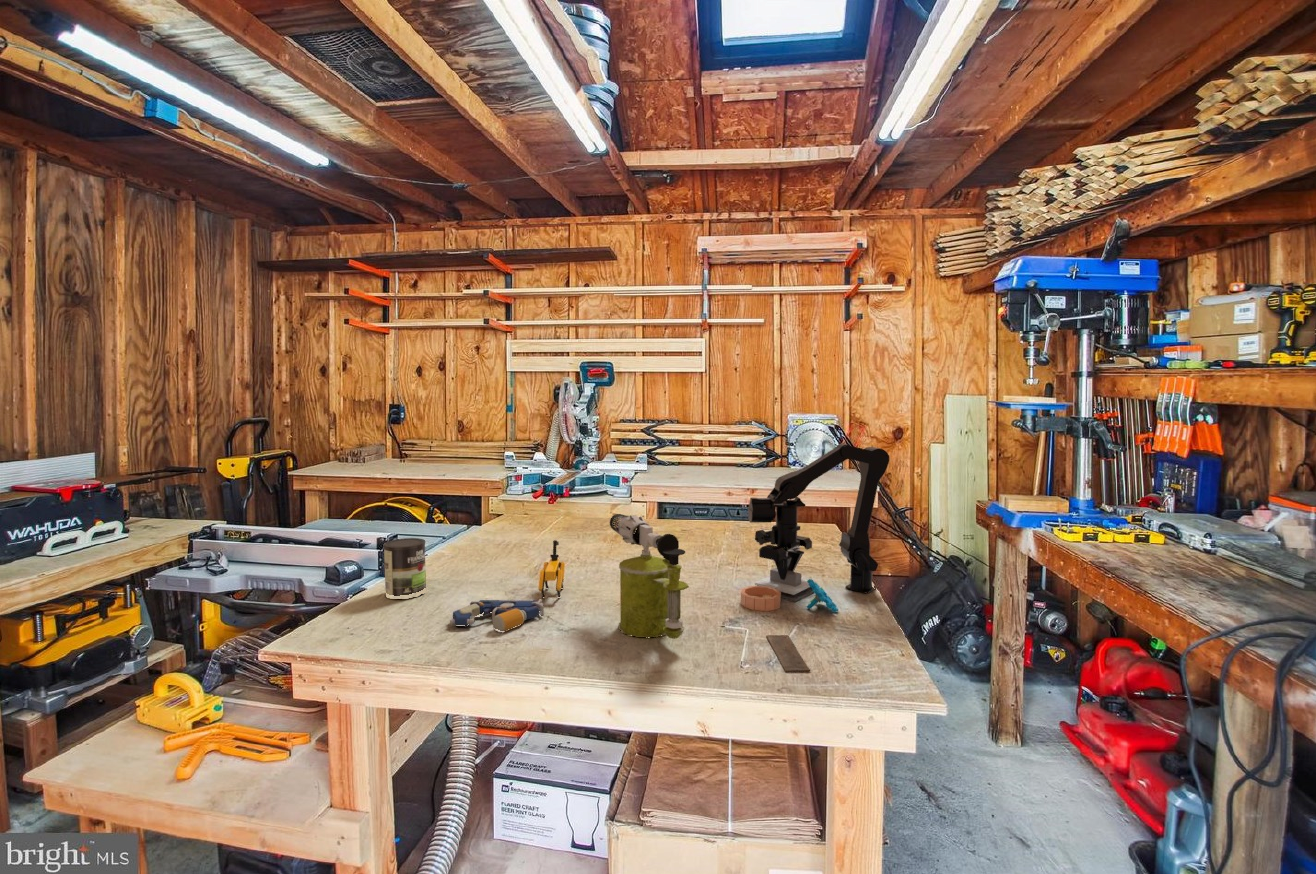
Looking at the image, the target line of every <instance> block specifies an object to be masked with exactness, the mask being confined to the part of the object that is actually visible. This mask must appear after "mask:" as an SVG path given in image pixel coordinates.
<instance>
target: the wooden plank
mask: <svg viewBox="0 0 1316 874" xmlns="http://www.w3.org/2000/svg"><path fill="white" fill-rule="evenodd" d="M766 639H767V641H768V643H769V645H770V646H771V648H772V651H773V653H774V654H775V656H776V657H777V659H778V661H779V663H780V664H781V667H782V668H783V670H784V672H785V673H810V672H811V669H810V668H809V666H808V664H807V663H806V661H805V660H804V658H803V657H802V655H801V654H800V652H799V651H798V649H797V646H796V645H795V643H794V642H793V640H792V639H791V637H790V635H788V634H781V635H780V634H778V635H777V634H774V635H773V634H768V635H767V634H766Z"/></svg>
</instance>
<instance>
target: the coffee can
mask: <svg viewBox="0 0 1316 874" xmlns="http://www.w3.org/2000/svg"><path fill="white" fill-rule="evenodd" d="M383 550H384V551H383V555H384V556H383V557H384V583H385V584H384V586H385V590H384V591H386V593H387V594H389V595H394V596H400V595H409V594H412V593H416V592H419V591H421V590H423V589H424V588H426V589H427V580H426V579H427V576H426V573H427V572H426V571H427V570H426V540H425V539H423V538H418V537H417V538H416V537H407V538H404V537H403V538H399V539H393V540H392V539H391V540H387V542H385V543H383Z"/></svg>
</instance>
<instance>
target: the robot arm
mask: <svg viewBox="0 0 1316 874" xmlns="http://www.w3.org/2000/svg"><path fill="white" fill-rule="evenodd" d="M847 460H851V461H855V462H858V470H859V472H860V474H859V475H860V482H859V486H858V492H857V497H856V501H855V505H854V509H853V510H854V511H853V515H852V520H851V525H850V528H849V529H848V531H847V532H844V531H842V532H841V537H840V542H839V543H838V546H839V547H840V553H842V556H844V557H845V558H846V560H847V563H848V564H850V575H849V576H850V579H849V580H850V582H849V584H847V585H845V589H847V590H851V591H856V592H859V593H865V594H870V593H871V592H873V591H874V590H876V589H877V587H878V586H877V585H873V572H876V571H877V570H878V567H879V563H878V561H876V560H875V559H874V557H872V556H871V543H870V538H869V537H870V536H869V528H870V524H871V520H872V515H873V510H874V505H875V500H876V496H877V491H878V486H879V482H880V481H881V479H882V478H883V476H884V475H885V473H886V471H887V469H888V466H889V464H890V455H889V453H888V452H887V451H886V450H885V449H883V448H879V447H874V446H868V447H864V448H861V447H857V446H853V445H850V444H847V443H843V442H842V443H839V444H838V445H836V446H835V447H834V448H833V449H831V450H829V451H828V452H826V453H824V454H823V455H821V456H820V457H818V458H817V459H815V460H814V461H812V462H811V463H809V464H806V466H804V467H802V468H800V469H798V470H795V471H791V472H788V473H786V474H783V475H781V476H779V477H778V478H776V480H775V483H774V487H773V488H772V490H771V491H770V492H769V494H768V495H767V497H761V498H759V497H750V500H749V504H748V508H747V518H748V522H749V523H751V524H755V523H767V524H768V523H769V524H771V523H772V521H774V520H775V524H774V525H772V527H771V530H767V531H766V530H764V529H760V530H756V531H755V535H754V541H755V542H757V543H758V544H759V546H761V547H760V548H759V549H758V557H759V558H762V559H767V560H771V561H773V562H774V564H775V566H776V568H777V569H778V572H779V576H780V579H782V580H785V577H786V574H787V571H788V570H789V571H793V572H795V570H796V567H797V566H798V564H799V562H800V560H801V559H802V557H803V555H804V554H805V551H804V550H801V549H800V547H804V549H805V550H810V549H812V548H813V541H812V540H811V538H810V537H806V536H802V535H798V531H800V530H801V525H798V513H799V511H798V509H799V508H802V507H803V508H804V507H806V504H805V503H804V501H802V500H801V498H800V497H799V496H800V495H801V494H802V493H803V492H804V491H805V490H806V489H807V488H808V486H809V485H811V483H812V482H814V481H815V480H817V479H819V478H820V477H821V476H823V475H825V474H826V473H828V472H829V471H830V470H832V469H834V468H835V467H837V466H839V465H840V464H841V463H844V462H846V461H847ZM767 543H768V544H767ZM764 544H766V545H764ZM762 545H763V546H762ZM872 585H873V586H874V588H875V589H874V588H873V587H872Z"/></svg>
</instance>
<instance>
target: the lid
mask: <svg viewBox="0 0 1316 874" xmlns="http://www.w3.org/2000/svg"><path fill="white" fill-rule="evenodd" d="M769 570H770V571H769V576H768V577H765V578H763V579H760V580H758V581H755V582H754V586H757V585H758V586H766V587H771V588H775V589H777V590H778V591H781V592H784V593H788V594H792V595H795V594H797V593H799V592H801V591H803V590H805V589H807V588H809V587H810V586H809V585H808V584H809V583H808V582H807V581H808V580H809V579H804V578H802V572H796V571H794V572H793V571H789V570H788V571H787V574H786V577H785V580H782V579H780V576H779V572H778V569H777V567H773V568H772V569H769ZM814 582H815V583H817V582H816V581H814Z"/></svg>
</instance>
